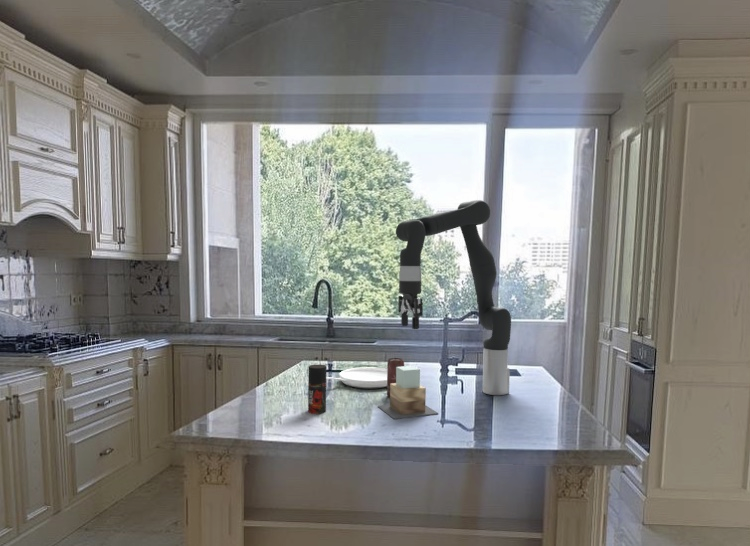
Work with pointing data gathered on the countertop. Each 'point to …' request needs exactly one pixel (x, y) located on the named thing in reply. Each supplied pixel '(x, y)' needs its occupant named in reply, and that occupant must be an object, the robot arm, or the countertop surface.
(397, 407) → the block bottom
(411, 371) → the cube
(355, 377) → the pan
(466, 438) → the countertop surface
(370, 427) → the countertop surface
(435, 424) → the countertop surface
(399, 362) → the can
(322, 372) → the deodorant
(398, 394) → the block top
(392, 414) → the mat
